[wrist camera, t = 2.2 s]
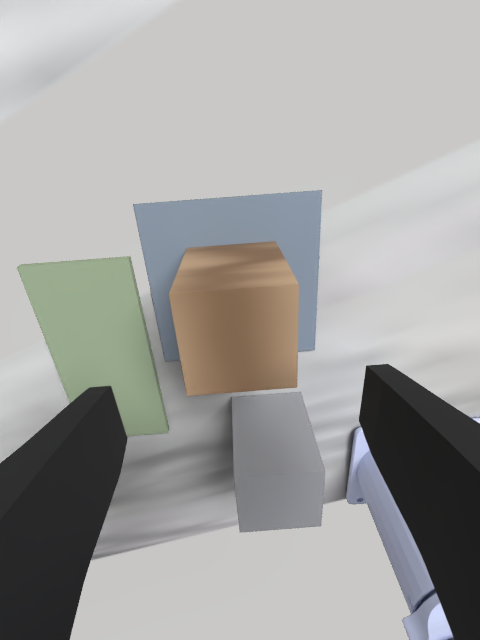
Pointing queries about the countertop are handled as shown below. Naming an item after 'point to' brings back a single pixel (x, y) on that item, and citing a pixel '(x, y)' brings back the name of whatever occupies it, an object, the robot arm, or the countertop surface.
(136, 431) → the rubber mat
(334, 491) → the countertop surface
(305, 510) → the grey block
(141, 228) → the blue card
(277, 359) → the walnut block
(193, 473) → the countertop surface
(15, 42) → the countertop surface
